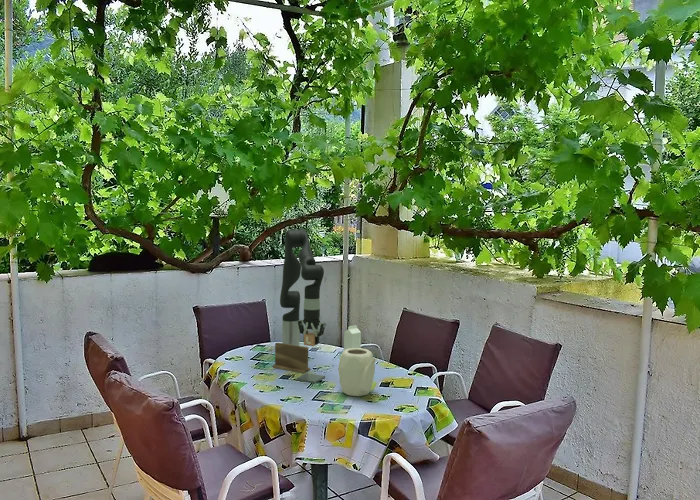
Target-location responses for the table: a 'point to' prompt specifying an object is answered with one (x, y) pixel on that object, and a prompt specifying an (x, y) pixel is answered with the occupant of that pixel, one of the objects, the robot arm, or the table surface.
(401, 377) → the table surface
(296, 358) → the walnut screen
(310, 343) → the letter cube
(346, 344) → the milk
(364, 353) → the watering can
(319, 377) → the slate pad
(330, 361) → the table surface
